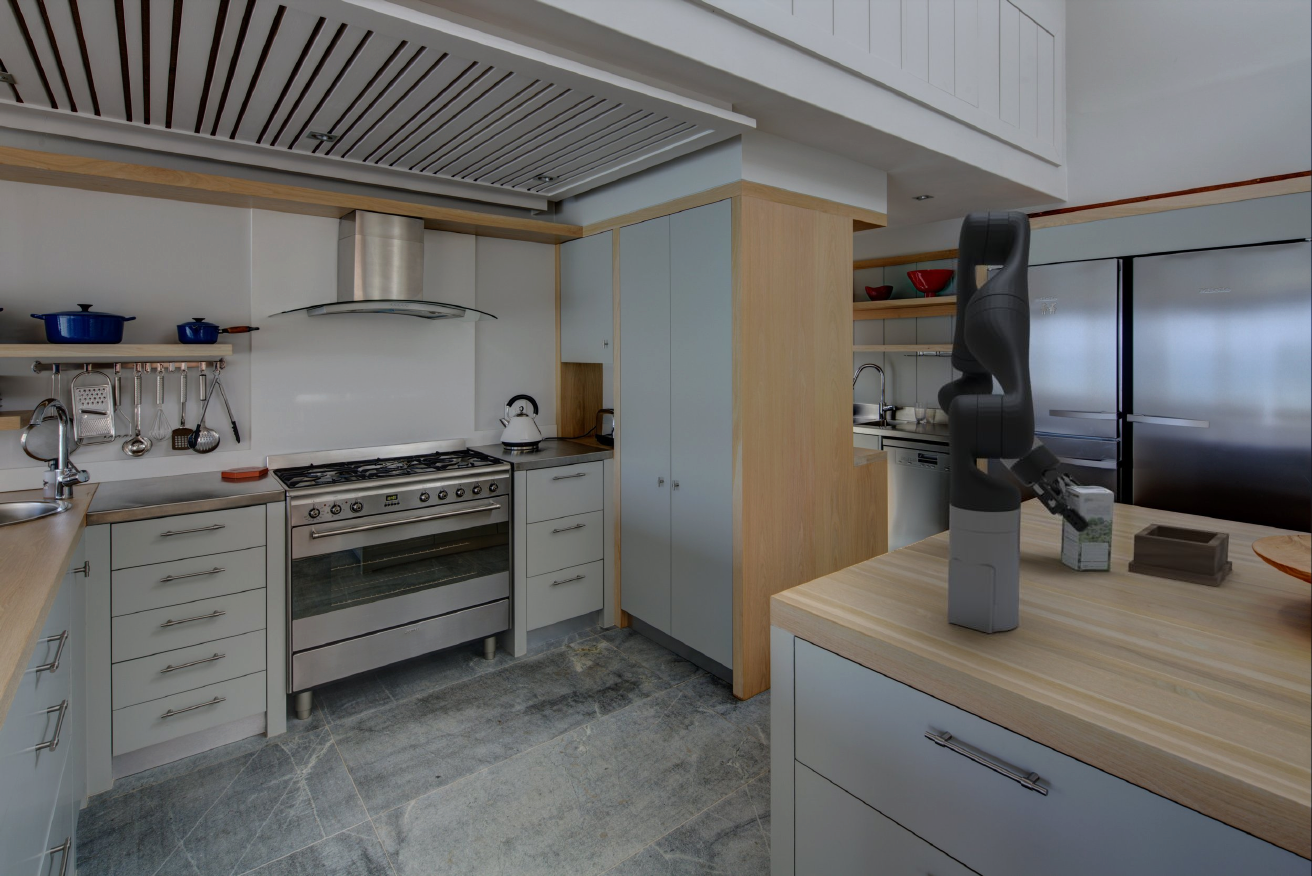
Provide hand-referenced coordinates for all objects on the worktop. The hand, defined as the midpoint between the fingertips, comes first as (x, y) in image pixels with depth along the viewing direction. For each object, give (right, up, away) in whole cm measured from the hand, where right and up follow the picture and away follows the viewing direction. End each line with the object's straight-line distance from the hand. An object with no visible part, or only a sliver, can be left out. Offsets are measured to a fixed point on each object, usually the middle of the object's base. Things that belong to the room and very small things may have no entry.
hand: (1092, 524), depth 116 cm
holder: (+13, -8, -3) cm, 16 cm away
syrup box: (0, -8, +2) cm, 8 cm away
